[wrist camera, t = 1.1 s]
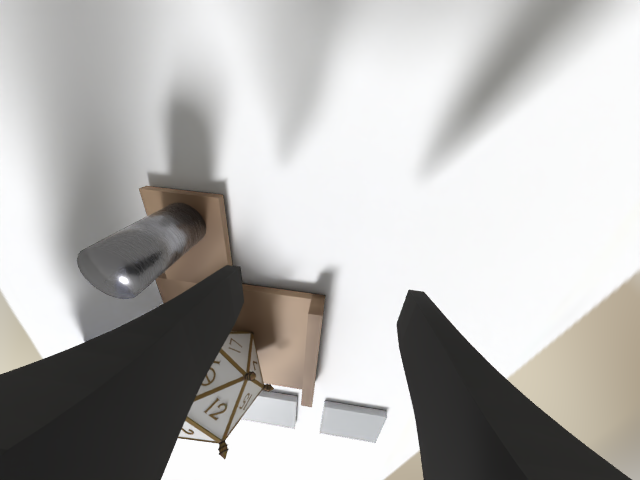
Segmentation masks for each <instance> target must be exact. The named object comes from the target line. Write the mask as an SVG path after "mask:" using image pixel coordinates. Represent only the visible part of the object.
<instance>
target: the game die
mask: <svg viewBox="0 0 640 480" xmlns="http://www.w3.org/2000/svg"><path fill="white" fill-rule="evenodd" d="M253 334H254V333H253V332H244V331H231V332H230V334H229V336H228V337H227V339H226V341H225V343H224V345H223V346H222V348H221V350H220V352H219V353H218V355H217V357H216V359H215V360H214V362H213V364H212V366H211V367H210V369H209V371H208V373H207V375H206V377H205V379H204V380H203V382H202V384H201V386H200V389H199V391H198V393H197V395H196V397H195V400H194V402H193V404H192V406H191V408H190V411H189V413H188V415H187V418H186V420H185V422H184V425H183V427H182V429H181V432H180V434H179V436H178V438H181V439H189V440H197V441H204V442H212V443H219V445H220V446H219V449H218V450H219V452H220V453H219V455H221V456H222V457H223V458H224V459H225V458H226V454H227V451H228V449H227V445H226V443H225V440H226V438H227V437H228V435H229V434H230V433H231V431H232V430H233V429H234V427H235V426H236V425H237V423H238V422H239V421H240V419H241V418H242V417H243V415H244V414H245V413H246V411H247V410H248V409H249V407H250V406H251V405H252V403H253V402H254V401H255V399H256V398H257V396H258V395H259V394H260V392H261V391H262V390H265V392H266V391H268V392H269V391H271V390H273V389H274V388H273V387H272V386H271V384H269V385H268V384H266V385H264V382H263V378H262V373H261V368H260V364H259V359H258V354H257V350H256V345H255V340H254V336H253Z"/></svg>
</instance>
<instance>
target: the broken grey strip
mask: <svg viewBox="0 0 640 480" xmlns="http://www.w3.org/2000/svg"><path fill="white" fill-rule="evenodd" d="M296 410H297V396H293V395H287V394H281V393H275V392H268V391H266V392H265V391H263V390H262V391H261V392H260V394H259V395H258V396H257V398H256V399H255V401H254V402H253V403H252V405H251V406H250V407H249V409H248V410H247V411H246V413H245V414H244V415H243V417H242V418H241V420H247V421H253V422H259V423H264V424H270V425H276V426H282V427H288V428H293V429H295V424H296ZM386 418H387V414H386V411H384V410H378V409H372V408H366V407H360V406H354V405H348V404H342V403H336V402H330V401H325V403H324V409H323V415H322V421H321V427H320V433H322V434H328V435H334V436H340V437H345V438H351V439H357V440H363V441H368V442H374V443H376V440H377V438H378V436H379V434H380V431H381V429H382V427H383V425H384V423H385V420H386Z"/></svg>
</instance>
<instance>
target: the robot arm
mask: <svg viewBox="0 0 640 480" xmlns="http://www.w3.org/2000/svg"><path fill="white" fill-rule="evenodd" d="M243 304H244V295H243V286H242V278H241V269H240V267H238V266H230V265H226V266H224V267H223V268H221V269H219V270H218V271H216V272H215V273H213V274H211V275H210V276H208V277H207V278H205V279H204V280H202V281H201V282H199V283H197V284H196V285H194V286H193V287H191V288H189V289H188V290H186V291H185V292H183V293H181V294H180V295H178V296H176V297H175V298H173V299H171V300H169V301H168V302H166V303H164V304H162V305H161V306H159V307H157V308H156V309H154V310H152V311H150V312H148V313H146V314H144V315H143V316H141V317H139V318H137V319H135V320H133V321H131V322H129V323H127V324H125V325H122V326H120V327H118V328H116V329H114V330H112V331H110V332H107V333H105V334H103V335H100V336H98V337H96V338H94V339H91V340H89V341H87V342H84V343H82V344H80V345H77V346H75V347H73V348H70V349H68V350H65V351H63V352H60V353H58V354H55V355H53V356H50V357H47V358H45V359H42V360H39V361H37V362H34V363H31V364H29V365H26V366H23V367H20V368H18V369H15V370H12V371H9V372H6V373H3V374H0V480H161V478H162V475H163V473H164V470H165V468H166V465H167V463H168V460H169V458H170V456H171V453H172V451H173V448H174V446H175V443H176V441H177V438H178V436H179V434H180V432H181V429H182V427H183V425H184V422H185V420H186V418H187V415H188V413H189V411H190V408H191V406H192V404H193V402H194V400H195V397H196V395H197V393H198V391H199V389H200V386H201V384H202V382H203V380H204V379H205V377H206V375H207V373H208V371H209V369H210V367H211V366H212V364H213V362H214V360H215V359H216V357H217V355H218V353H219V352H220V350H221V348H222V346H223V345H224V343H225V341H226V339H227V337H228V336H229V334H230V332H231V330H232V328H233V327H234V325H235V323H236V321H237V318H238V316H239V314H240V311H241V309H242V306H243ZM397 332H398V342H399V349H400V353H401V358H402V362H403V367H404V371H405V375H406V379H407V383H408V388H409V392H410V396H411V400H412V405H413V409H414V414H415V419H416V426H417V433H418V440H419V447H420V454H421V462H422V469H423V477H424V480H632V479H630V478H628V477H627V476H626V475H625V474H623V473H622V472H621V471H619V470H618V469H616V468H615V467H614V466H613V465H611V464H610V463H608V462H607V461H606V460H605V459H603V458H602V457H601V456H599V455H598V454H597V453H595V452H594V451H593V450H591V449H590V448H589V447H587V446H586V445H585V444H583V443H582V442H581V441H580V440H578V439H577V438H576V437H574V436H573V435H572V434H571V433H569V432H568V431H567V430H566V429H564V428H563V427H562V426H560V425H559V424H558V423H557V422H556V421H555V420H553V419H552V418H551V417H550V416H548V415H547V414H546V413H545V412H543V411H542V410H541V409H540V408H538V407H537V406H536V405H535V404H534V403H533V402H532V401H530V400H529V399H528V398H527V397H526V396H525V395H523V394H522V393H521V392H520V391H519V390H518V389H517V388H516V387H514V386H513V385H512V384H511V383H510V382H509V381H508V380H507V379H506V378H505V377H503V376H502V375H501V374H500V373H499V372H498V371H497V370H496V369H495V368H494V367H493V366H492V365H491V364H490V363H489V362H488V361H487V360H486V359H485V358H484V357H483V356H482V355H481V354H480V353H479V352H478V351H477V350H476V349H475V348H474V347H473V346H472V345H471V344H470V343H469V342H468V341H467V340H466V339H465V338H464V337H463V336H462V335H461V333H460V332H459V331H458V330H457V329H456V328H455V327H454V326H453V325H452V323H451V322H450V321H449V320H448V319H447V318H446V317H445V316H444V314H443V313H442V312H441V311H440V310H439V309H438V307H437V306H436V305H435V304H434V303H433V302H432V301H431V299H430V298H429V297H428V296H427V295H426V294H425V293H424V292H422V291H414V290H408V293H407V296H406V299H405V302H404V304H403V307H402V310H401V313H400V316H399V319H398V321H397Z"/></svg>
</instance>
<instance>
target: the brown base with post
mask: <svg viewBox="0 0 640 480" xmlns="http://www.w3.org/2000/svg"><path fill="white" fill-rule="evenodd" d="M139 191H140V194H141V197H142V200H143V204H144V207H145V210H146V213H147V217H145V218H143V219H141V220H139V221H137V222H135V223H133V224H132V225H130V226H128V227H126V228H124V229H122V230H120V231H118V232H116V233H114V234H112V235H111V236H109V237H107V238H105V239H103V240H101V241H99V242H97V243H95V244H93V245H91V246H89V247H88V248H86V249H84V250H82V251H81V252H80V253H79V255H78V258H77V262H78V267H79V269H80V271H81V273H82V274H83V276H84V277H85V278H86V279H87V280H88V281H89V282H90V283H91V284H92V285H93V286H94V287H96V288H97V289H99V290H100V291H102V292H104V293H106V294H108V295H110V296H113V297H116V298H121V299H129V298H134V297H136V296H137V295H138V294H139V293H141V292H142V291H143V290H144V289H145V288H146V287H147V286H149V285H150V284H151V283H152V282H153V281H154V280H156V283H157V286H158V289H159V292H160V295H161V297H162V300H163V303H166V302H168V301H169V300H171V299H173V298H175V297H176V296H178V295H180V294H181V293H183V292H185V291H186V290H188V289H189V288H191V287H193V286H194V285H196V284H197V283H199V282H201V281H202V280H204V279H205V278H207V277H208V276H210V275H211V274H213V273H215V272H216V271H218V270H219V269H221V268H223V267H224V266H226V265H230V266H232V258H231V251H230V243H229V236H228V228H227V220H226V213H225V205H224V198H223V195H221V194H212V193H203V192H195V191H186V190H178V189H169V188H160V187H152V186H145V187H142V188H139ZM164 272H165V273H164ZM242 286H243V295H244V304H243V306H242V309H241V311H240V314H239V316H238V318H237V321H236V323H235V325H234V327H233V328H232V330H231V331H244V332H253V333H254V334H253V336H254V340H255V345H256V350H257V354H258V359H259V364H260V368H261V373H262V378H263V382H264V383H266V384H272V385H278V386H284V387H290V388H296V389H302V401H301V405H302V406H308V407H312V402H313V394H314V386H315V378H316V369H317V361H318V353H319V345H320V336H321V328H322V320H323V312H324V303H325V295H319V294H312V293H305V292H298V291H290V290H283V289H276V288H269V287H261V286H254V285H247V284H242Z"/></svg>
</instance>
